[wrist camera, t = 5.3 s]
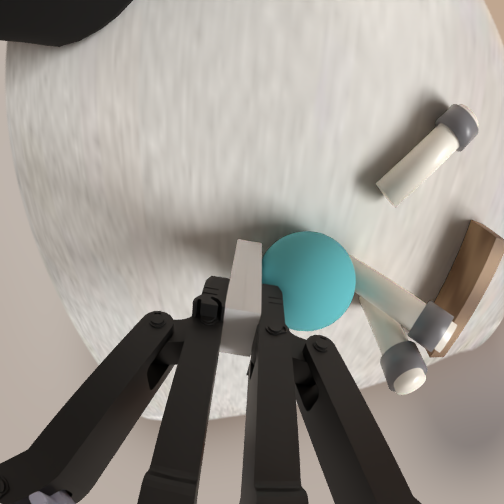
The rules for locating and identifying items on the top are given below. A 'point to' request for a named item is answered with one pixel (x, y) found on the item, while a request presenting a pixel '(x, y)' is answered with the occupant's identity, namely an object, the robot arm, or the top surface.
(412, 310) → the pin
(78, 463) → the robot arm
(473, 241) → the back wall
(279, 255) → the ball
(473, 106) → the top surface
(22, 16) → the coffee jar
